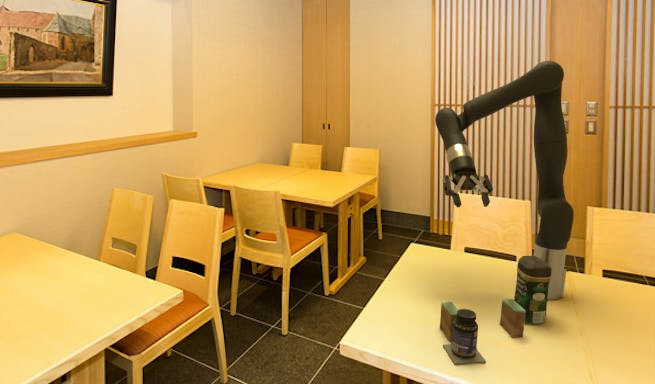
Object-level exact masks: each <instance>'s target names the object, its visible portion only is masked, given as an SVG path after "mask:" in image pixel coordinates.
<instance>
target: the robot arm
mask: <svg viewBox="0 0 655 384" xmlns="http://www.w3.org/2000/svg"><path fill="white" fill-rule="evenodd" d="M564 71H565V70H564V68H563V67H562V66H561V64H559V63H558V62H556V61H554V60H553V61H552V60H545V61H541V62H539V63H538V64H536V65H535V66H534V67H532V68H531V69H530V70H529V71H527V72H525V73H524V74H523V75H521V76H519V77H518V78H516V79H514V80H513V81H511V82H508V83H506V84H505V85H502V86H500V87H497V88H495V89H492V90H490V91H488V92H486V93H483V94H481V95H479V96H477V97H475V98H473V99H470V100H468V101H467V102H465V103H464V104H463V105H462V109H463V111H461V112H460V113H459V114H457V113H456V111H455V110H454V109H452V108H450V107H443V108H441V109H439V110H438V111H437V112H436V115H435V125H436V127H437V131H438V133H439V135H440V137H441V139H442V142H443V146H444V150H445V154H446V160H447V162H446V163H447V164H448V168H449V173H450V175H451V176H449V175H448V174H446V175H444V177H443V179H442V184H443V189H444V195H445V196H451V197H452V201H453V204H454V206H456V208H460V207H461V206H462V200H461V198H460V194H459V193H458V192H459V191H460V190H461V191H473V192H475V193H477V194H479V195H480V198H481V201H482V204H483V207H484V208H487V207H488V206H489V205H490V203H491V200H490V197H489V196H490V194H491V193H492V192H493V191H494V188H493V185H492V183H491V181H490V178H489V175H488V174H484V175H482V176H479V175H478V174H477V169H476V165H475V162H474V160H473V156H472V153H471V150H470V148H469V145H468V143H467V139H466V137H465V134H464V133H463V132H464V131H465V130H467V129H468V128H469V127H470V126H472V125H473V124H474V123H476V122H477V121H480V120H482V119H484V118H486V117H489V116H491V115H493V114H495V113H498V112H499V111H501V110H503V109H505V108H506V107H509V106H511V105H512V104H515V103H517V102H520V101H522V100H524V99H527V98H530V97H533V99H534V100H533V101H534V111H535V112H534V122H533V123H534V124H533V149H534V150H533V152H534V159H535V167H536V168H535V169H536V174H537V180H538V181H537V183H538V188H537V189H538V190H537V202H536V210H537V213H538V215H539V217H540V221H539V227H538V229H539V230H538V233H537V234H536V235H535V240H534V241H535V242H534V249H533V256H536V257H538V258H539V259H541V260H543V261H544V262H546V263H547V264H548V265H549V266H550V267H551V279H550V282H549V287H548V297H547V301H548V300H551V301H553V300H554V301H555V300H558V299H560V298H563V297H564V291H565V284H566V277H567V269H566V268H565V263H566V257H567V256H566V255H567V248H568V243H569V242H570V239H571V236H572V235H571V234H572V231H573V230H572V229H573V223H574V217H575V213H574V208H573V206H572V205H571V204H570V203H569V202H568V201H567V199H566V198H567V197H566V194H565V193H566V192H565V187H564V186H565V185H564V175H565V172H566V171H565V170H566V166H567V160H568V136H567V135H568V134H567V128H566V122H565V117H564V113H563V108H562V91H563V90H562V89H563V82H564V78H565V72H564ZM451 183H453V185H455V188H454V189H452V185H451ZM559 297H560V298H559Z"/></svg>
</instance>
